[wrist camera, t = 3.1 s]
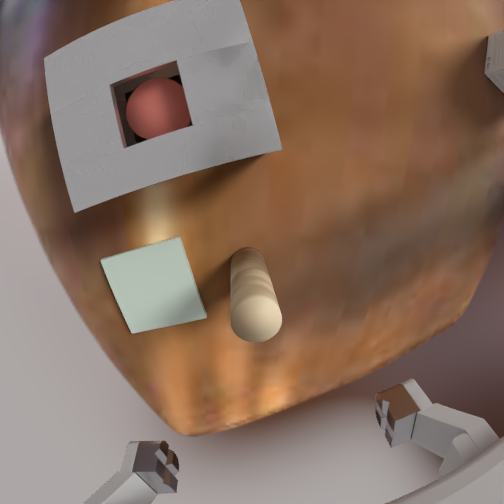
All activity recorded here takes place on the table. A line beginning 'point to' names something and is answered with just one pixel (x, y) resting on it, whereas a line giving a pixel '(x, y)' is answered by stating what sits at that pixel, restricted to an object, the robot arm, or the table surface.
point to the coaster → (154, 286)
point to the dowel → (253, 297)
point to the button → (158, 108)
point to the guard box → (150, 67)
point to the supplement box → (495, 59)
